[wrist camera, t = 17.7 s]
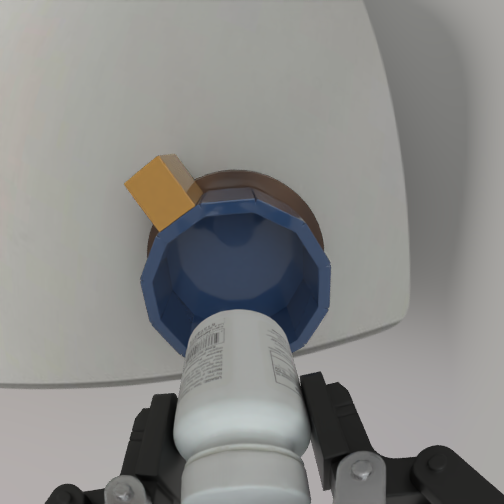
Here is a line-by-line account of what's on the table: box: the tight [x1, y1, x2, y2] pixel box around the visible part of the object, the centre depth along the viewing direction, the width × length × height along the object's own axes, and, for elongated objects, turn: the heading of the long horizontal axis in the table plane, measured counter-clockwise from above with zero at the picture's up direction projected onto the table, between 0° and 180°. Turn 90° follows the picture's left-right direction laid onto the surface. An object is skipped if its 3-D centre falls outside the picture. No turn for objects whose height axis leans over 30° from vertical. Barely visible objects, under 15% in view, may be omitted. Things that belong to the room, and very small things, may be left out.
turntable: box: [147, 170, 324, 258], centre depth 25 cm, size 14×14×1 cm
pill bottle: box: [173, 309, 311, 504], centre depth 9 cm, size 4×4×8 cm
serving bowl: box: [124, 154, 331, 357], centre depth 21 cm, size 15×12×5 cm
